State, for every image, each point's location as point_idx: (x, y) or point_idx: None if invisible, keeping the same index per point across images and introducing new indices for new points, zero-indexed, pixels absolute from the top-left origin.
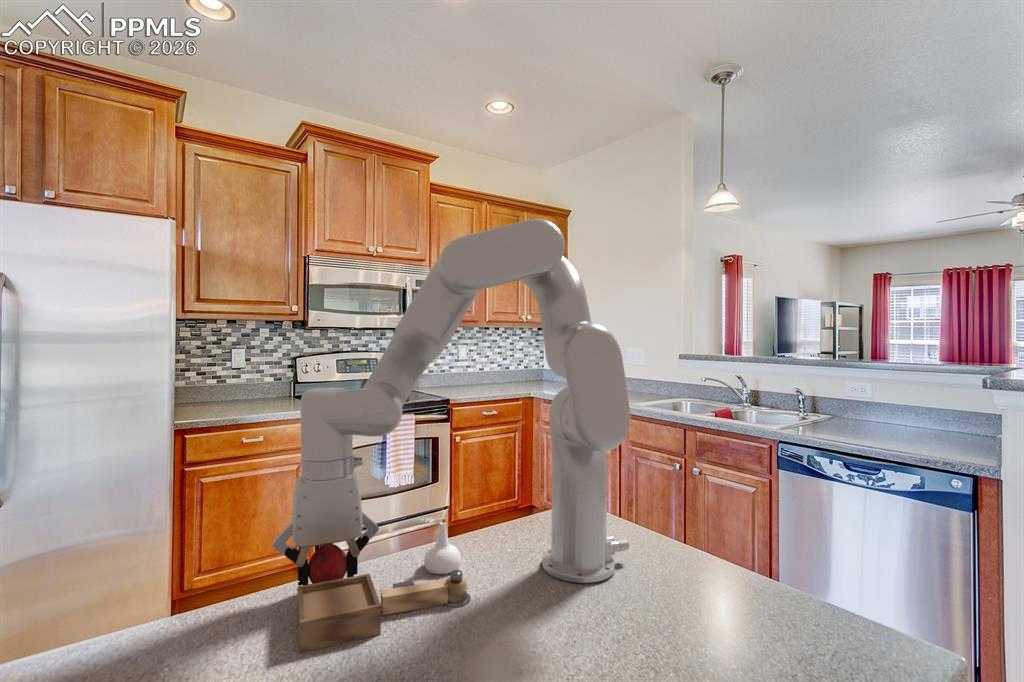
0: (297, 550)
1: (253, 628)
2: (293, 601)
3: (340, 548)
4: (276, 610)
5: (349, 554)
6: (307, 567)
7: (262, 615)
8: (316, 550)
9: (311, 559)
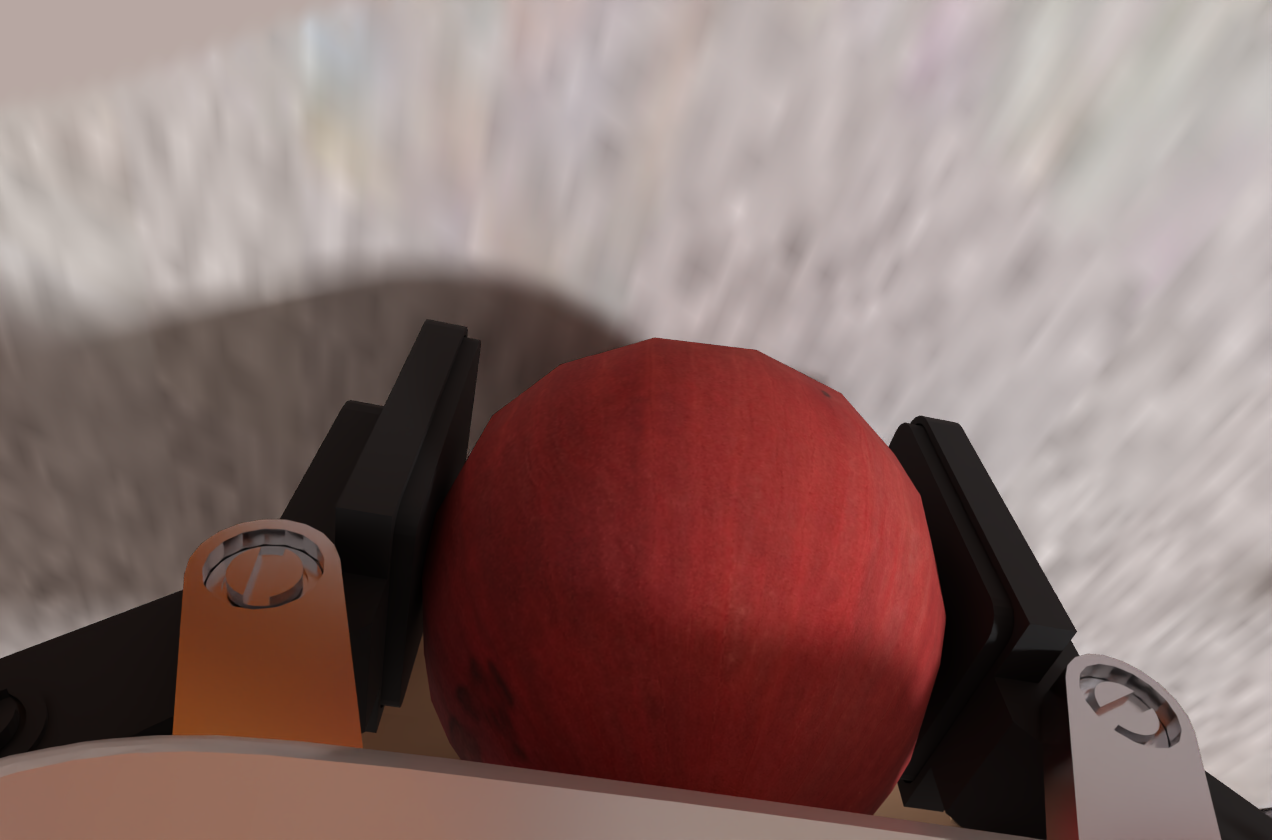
0: (166, 733)
1: (58, 582)
2: (349, 384)
3: (898, 762)
4: (203, 447)
5: (940, 795)
6: (391, 705)
7: (92, 460)
8: (516, 755)
9: (442, 705)
